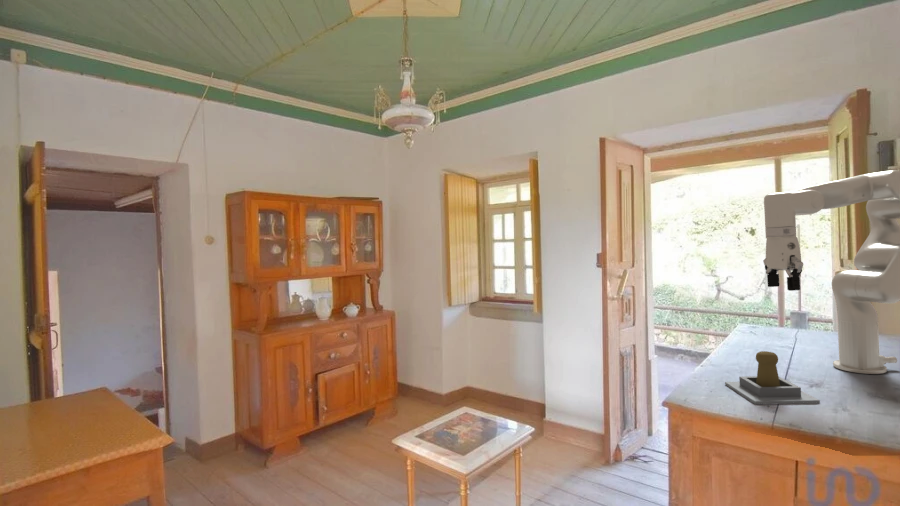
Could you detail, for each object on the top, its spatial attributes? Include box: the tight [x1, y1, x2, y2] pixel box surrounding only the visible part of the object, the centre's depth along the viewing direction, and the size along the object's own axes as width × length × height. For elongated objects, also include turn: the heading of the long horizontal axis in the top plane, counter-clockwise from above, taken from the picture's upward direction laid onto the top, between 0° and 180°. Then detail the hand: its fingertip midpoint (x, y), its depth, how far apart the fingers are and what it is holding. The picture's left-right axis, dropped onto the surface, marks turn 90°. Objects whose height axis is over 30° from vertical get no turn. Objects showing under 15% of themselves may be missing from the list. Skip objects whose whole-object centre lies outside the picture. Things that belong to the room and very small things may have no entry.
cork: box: [755, 350, 780, 387], centre depth 125 cm, size 6×6×11 cm
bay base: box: [724, 375, 821, 405], centre depth 124 cm, size 16×16×3 cm
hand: (783, 288), depth 134 cm, fingers open, 9 cm apart
